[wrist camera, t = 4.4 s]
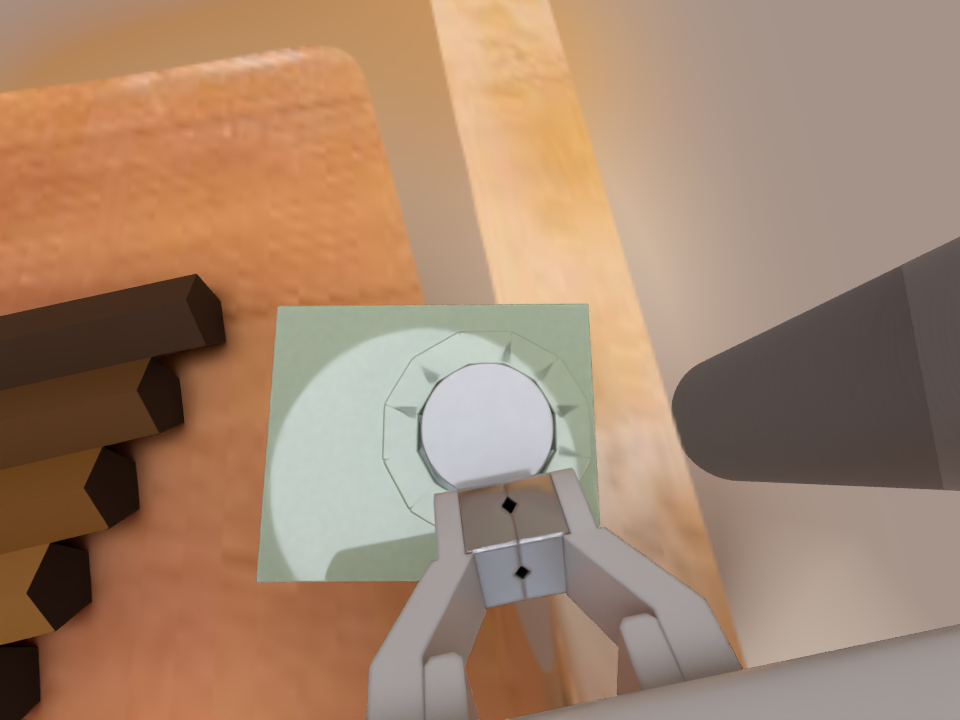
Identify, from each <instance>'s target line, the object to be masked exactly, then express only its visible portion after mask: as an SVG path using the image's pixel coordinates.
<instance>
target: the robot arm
mask: <svg viewBox="0 0 960 720" xmlns="http://www.w3.org/2000/svg"><path fill="white" fill-rule="evenodd" d="M433 503H434V517H435V532H436V546H437V560H435V561H431V562H430V563H429V565H428V567H427V568H426V570H425V572H424V573H423V575H422V577H421V579H420V580H419V582H418V584H417V585H416V587H415V589H414V591H413V592H412V594H411V596H410V597H409V599H408V601H407V603H406V604H405V606H404V608H403V609H402V611H401V613H400V615H399V616H398V618H397V620H396V621H395V623H394V625H393V627H392V628H391V630H390V632H389V633H388V635H387V637H386V639H385V640H384V642H383V644H382V645H381V647H380V649H379V651H378V652H377V654H376V656H375V657H374V659H373V661H372V663H371V664H370V666H369V678H368V696H367V714H366V720H480V717H479V714H478V710H477V707H476V703H475V700H474V696H473V693H472V689H471V686H470V682H469V679H468V675H467V672H466V668H465V666H466V664H467V661H468V658H469V656H470V653H471V650H472V648H473V645H474V643H475V640H476V637H477V635H478V632H479V629H480V627H481V624H482V621H483V619H484V616H485V614H486V609H488V608H492V607H497V606H501V605H505V604H510V603H514V602H518V601H523V600H527V599H533V598H539V597H545V596H551V595H556V594H562V593H567V595H568V596H569V597H570V598H571V599H572V600H573V601H574V602H575V603H576V604H577V605H578V607H579V608H580V609H581V610H582V611H583V612H584V613H585V614H586V615H587V616H588V617H589V618H590V619H591V620H592V621H593V622H594V623H595V624H596V625H597V626H598V627H599V628H600V629H601V630H602V631H603V632H604V633H605V634H606V635H607V636H608V637H609V638H610V639H611V640H612V641H613V642H614V643H615V644H616V645H617V646H618V647H619V650H618V676H617V695H618V696H614V697H609V698H604V699H599V700H595V701H590V702H585V703H580V704H576V705H571V706H566V707H561V708H556V709H552V710H547V711H542V712H537V713H533V714H528V715H523V716H518V717H514V718H509V719H504V720H960V624H958V625H954V626H949V627H944V628H939V629H934V630H929V631H925V632H920V633H915V634H910V635H906V636H901V637H896V638H892V639H887V640H882V641H877V642H873V643H868V644H863V645H858V646H853V647H849V648H844V649H839V650H835V651H829V652H825V653H820V654H815V655H811V656H806V657H801V658H796V659H791V660H787V661H782V662H777V663H772V664H767V665H763V666H758V667H753V668H748V669H743V668H742V666H741V664H740V663H739V661H738V659H737V657H736V655H735V653H734V651H733V649H732V648H731V646H730V644H729V642H728V640H727V638H726V636H725V635H724V633H723V631H722V629H721V627H720V625H719V623H718V622H717V620H716V618H715V616H714V614H713V612H712V610H711V609H710V607H709V605H708V603H707V601H706V599H705V598H703V597H702V596H700V595H699V594H698V593H696V592H695V591H693V590H692V589H691V588H689V587H688V586H686V585H685V584H684V583H682V582H681V581H679V580H678V579H677V578H675V577H674V576H672V575H671V574H670V573H668V572H667V571H665V570H664V569H663V568H661V567H660V566H658V565H657V564H656V563H654V562H653V561H651V560H650V559H649V558H647V557H646V556H644V555H643V554H642V553H640V552H639V551H637V550H636V549H635V548H633V547H632V546H630V545H629V544H628V543H626V542H625V541H624V540H622V539H621V538H619V537H618V536H617V535H615V534H614V533H612V532H611V531H610V530H608V529H607V528H605V527H604V528H598V527H597V525H596V522H595V520H594V517H593V515H592V512H591V510H590V507H589V505H588V502H587V500H586V497H585V495H584V492H583V490H582V487H581V485H580V482H579V480H578V477H577V475H576V473H575V470H573V469H572V468H567V469H562V470H557V471H552V472H549V473H548V472H546V473H542V474H537V475H532V476H527V477H522V478H517V479H512V480H507V481H503V482H499V483H493V484H487V485H481V486H475V487H469V488H463V489H458V490H454V491H448V492H442V493H436V494H434V499H433Z"/></svg>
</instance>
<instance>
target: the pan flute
mask: <svg viewBox="0 0 960 720" xmlns="http://www.w3.org/2000/svg"><path fill="white" fill-rule="evenodd" d="M223 342H226V339H225V332H224V325H223V317H222V310H221V303H220V300H219V299H218V298H217V297H216V296H215V294H214V293H213V292H212V291H211V290H210V289H209V287H208V286H207V285H206V284H205V283H204V282H203V280H202V279H201V278H200V277H199V276H198V275H197V274H193V275H188V276H184V277H179V278H175V279H170V280H165V281H161V282H156V283H152V284H147V285H142V286H138V287H133V288H129V289H124V290H119V291H115V292H110V293H106V294H101V295H96V296H92V297H87V298H83V299H78V300H73V301H69V302H64V303H60V304H55V305H50V306H46V307H41V308H37V309H32V310H27V311H23V312H18V313H13V314H9V315H4V316H0V645H3V644H7V643H11V642H15V641H19V640H23V639H27V638H31V637H35V636H39V635H43V634H47V633H51V632H55V631H57V630H58V629H59V628H60V627H61V626H63V625H64V624H65V623H66V622H67V621H69V620H70V619H71V618H72V617H73V616H75V615H76V614H77V613H78V612H80V611H81V610H82V609H83V608H84V607H86V606H87V605H88V604H89V603H90V602H92V600H91V587H90V573H89V559H88V552H87V551H83V550H79V549H75V548H70V547H66V546H62V545H58V544H53V543H51V542H55V541H60V540H64V539H68V538H72V537H76V536H81V535H85V534H89V533H93V532H97V531H102V530H106V529H110V528H111V527H113V526H114V525H116V524H117V523H119V522H120V521H122V520H123V519H125V518H126V517H128V516H129V515H131V514H132V513H134V512H136V511H137V510H139V499H138V488H137V478H136V467H135V462H133V461H131V460H129V459H127V458H125V457H123V456H121V455H119V454H117V453H115V452H113V451H111V450H109V449H107V448H105V447H103V446H107V445H111V444H115V443H120V442H124V441H128V440H133V439H137V438H141V437H146V436H150V435H154V434H159V433H161V432H164V431H166V430H168V429H171V428H173V427H175V426H177V425H180V424H182V423H184V417H183V409H182V400H181V391H180V383H179V379H178V378H177V377H176V376H174V375H173V374H172V373H171V372H169V371H168V370H167V369H166V368H164V367H163V366H162V365H161V364H159V363H158V362H157V361H156V360H154V359H153V358H156V357H161V356H165V355H170V354H174V353H178V352H183V351H187V350H192V349H196V348H201V347H205V346H210V345H214V344H219V343H223ZM39 702H40V688H39V669H38V650H37V647H0V720H21V719H22V718H23V717H24V716H25V715H26V714H27V713H28V712H29V711H30V710H31V709H32V708H33V707H34V706H35V705H37V704H38V703H39Z"/></svg>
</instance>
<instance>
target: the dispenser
mask: <svg viewBox="0 0 960 720" xmlns="http://www.w3.org/2000/svg"><path fill="white" fill-rule="evenodd" d="M477 363H497V364H503V365H506V366H509V367H512V368H514V369H516V370H518V371H520V372H522V373H523V374H525V375H526V376H528V377H529V378H530V379H531V380H532V381H533V382H534V383H535V384H536V385H537V386H538V387H539V388H540V390H541V391H542V393H543V394H544V396H545V398H546V400H547V401H548V404H549V407H550V409H551V413H552V417H553V426H554V433H553V442H552V446H551V450H550V453H549V455H548V457H547V460H546V462H545V463H544V465H543V466H542V468H541V469H540V471H539V472H538V473H537V474H542V473H546V472H548V473H549V472H552V471H557V470H562V469H567V468H572V469H573V470H575V473H576V475H577V477H578V480H579V482H580V485H581V487H582V490H583V492H584V495H585V497H586V500H587V502H588V505H589V507H590V510H591V512H592V515H593V517H594V520H595V522H596V525H597V527H598V528H600V515H599V496H598V477H597V458H596V439H595V420H594V401H593V383H592V364H591V345H590V326H589V307H588V304H492V305H490V304H489V305H342V306H278V307H277V319H276V332H275V345H274V358H273V371H272V384H271V397H270V410H269V422H268V435H267V448H266V461H265V474H264V487H263V500H262V512H261V525H260V538H259V551H258V564H257V577H256V582H392V581H419V580H420V579H421V577H422V575H423V573H424V572H425V570H426V568H427V567H428V565H429V563H430V562H431V561H435V560H437V546H436V532H435V517H434V503H433V499H434V494H436V493H442V492H448V491H454V490H458V489H457V488H455V487H453V486H452V485H450V484H449V483H447V482H446V481H445V480H444V479H443V478H442V477H440V476H439V474H438V473H437V472H436V471H435V470H434V468H433V467H432V465H431V464H430V462H429V460H428V458H427V456H426V454H425V451H424V447H423V443H422V438H421V421H422V415H423V411H424V408H425V405H426V402H427V400H428V398H429V396H430V395H431V393H432V392H433V390H434V389H435V387H436V386H437V385H438V384H439V383H440V382H441V381H442V380H443V379H444V378H445V377H447V376H448V375H449V374H451V373H453V372H454V371H456V370H458V369H460V368H462V367H465V366H468V365H472V364H477ZM537 474H536V475H537Z"/></svg>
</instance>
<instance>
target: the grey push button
mask: <svg viewBox="0 0 960 720" xmlns="http://www.w3.org/2000/svg"><path fill="white" fill-rule="evenodd" d="M553 433H554V426H553V417H552V413H551V409H550V407H549V404H548V401H547V400H546V398H545V396H544V394H543V393H542V391H541V390H540V388H539V387H538V386H537V385H536V384H535V383H534V382H533V381H532V380H531V379H530V378H529V377H528V376H526V375H525V374H523V373H522V372H520V371H518V370H516V369H514V368H512V367H509V366H506V365H503V364H497V363H477V364H472V365H468V366H465V367H462V368H460V369H458V370H456V371H454V372H453V373H451V374H449V375H448V376H447V377H445V378H444V379H443V380H442V381H441V382H440V383H439V384H438V385H437V386H436V387H435V389H434V390H433V392H432V393H431V395H430V396H429V398H428V400H427V402H426V405H425V408H424V411H423V415H422V421H421V438H422V443H423V447H424V451H425V454H426V456H427V458H428V460H429V462H430V464H431V465H432V467H433V468H434V470H435V471H436V472H437V473H438V474H439V476H440V477H442V478H443V479H444V480H445V481H446V482H447V483H449V484H450V485H452V486H453V487H455V488H457V489H463V488H469V487H475V486H481V485H487V484H493V483H499V482H503V481H507V480H512V479H517V478H522V477H527V476H532V475H536V474H537V473H538V472H539V471H540V469H541V468H542V466H543V465H544V463H545V462H546V460H547V457H548V455H549V453H550V450H551V446H552V442H553Z"/></svg>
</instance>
